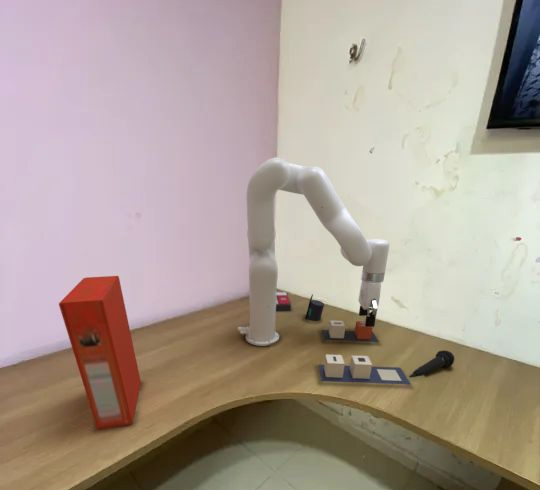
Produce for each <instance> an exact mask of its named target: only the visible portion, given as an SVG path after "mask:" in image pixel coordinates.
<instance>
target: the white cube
mask: <svg viewBox="0 0 540 490" xmlns="http://www.w3.org/2000/svg"><path fill="white" fill-rule="evenodd" d="M323 363H324V364H323V365H324V371H325V375H326V377H335V378H343V371H344V366H346V365H345V364H346V363H345V361H344V357H343V355H342V354H325V355H324V362H323Z"/></svg>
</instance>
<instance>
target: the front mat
mask: <svg viewBox="0 0 540 490" xmlns="http://www.w3.org/2000/svg"><path fill="white" fill-rule="evenodd" d="M318 369H319V370H318V371H319V376H320V380H321V382H332V383H333V382H335V383H358V384H360V383H361V384H363V383H364V384H387V385H411V382H410V381H409V379H408V378H407V376H406V374H405V373H404V371H403V370H402V368H401V367H394V366H393V367H392V366H372V368H371V373H370V378H369V379H361V378H353V377H352V375H351V372H350V365H344V371H343V378H335V377H326V375H325V371H324V364H318Z"/></svg>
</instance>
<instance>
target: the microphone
mask: <svg viewBox="0 0 540 490" xmlns="http://www.w3.org/2000/svg"><path fill="white" fill-rule="evenodd" d="M454 363H455V355H454V354H453V353H452V352H451V351H449V350H445V349H443V350H439V351H437V352H436V354H435V357H434V358H432V359H430V360H429V361H427V362H425V363H424V364H423V365H421V366H419V367H418V368H417V369H415V370H414V371H413V372H412V373H411V374H410V375H409V376H408V378H415V377H421V376H425V375H427V374H429V373H433V372H434V371H436V370H438V369H440V368H442V367H443V368H451V367H452V366H453V364H454Z"/></svg>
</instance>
